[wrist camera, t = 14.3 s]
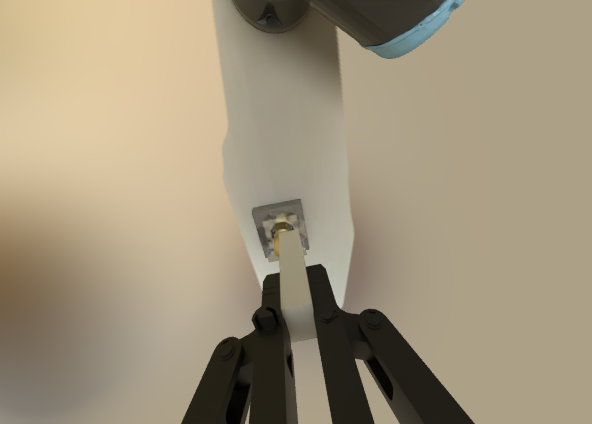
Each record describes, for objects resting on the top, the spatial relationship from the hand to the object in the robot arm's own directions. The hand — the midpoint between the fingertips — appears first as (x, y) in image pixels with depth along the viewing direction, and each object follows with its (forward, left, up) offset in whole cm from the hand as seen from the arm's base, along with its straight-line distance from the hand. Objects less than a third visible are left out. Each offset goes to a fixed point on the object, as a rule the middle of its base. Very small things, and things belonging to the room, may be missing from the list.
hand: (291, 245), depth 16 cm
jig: (+12, +15, -34) cm, 39 cm away
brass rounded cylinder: (+12, +15, -34) cm, 39 cm away
